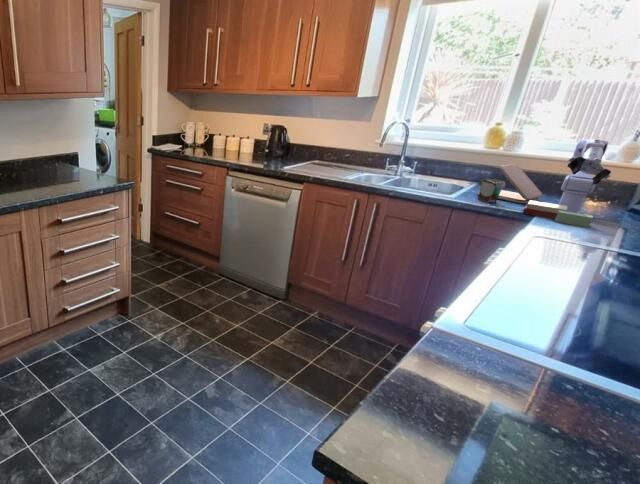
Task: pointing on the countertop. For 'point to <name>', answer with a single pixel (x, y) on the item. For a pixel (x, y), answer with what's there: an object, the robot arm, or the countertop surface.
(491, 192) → the food container
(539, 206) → the book stack
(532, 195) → the case
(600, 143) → the robot arm
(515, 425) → the countertop surface
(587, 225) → the green block
